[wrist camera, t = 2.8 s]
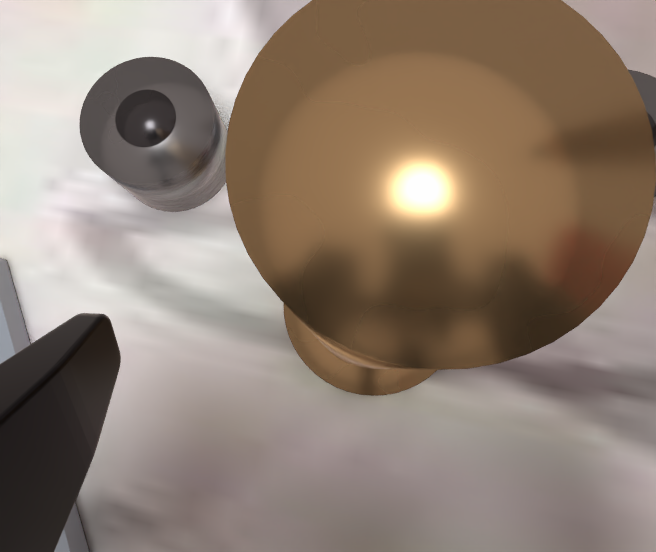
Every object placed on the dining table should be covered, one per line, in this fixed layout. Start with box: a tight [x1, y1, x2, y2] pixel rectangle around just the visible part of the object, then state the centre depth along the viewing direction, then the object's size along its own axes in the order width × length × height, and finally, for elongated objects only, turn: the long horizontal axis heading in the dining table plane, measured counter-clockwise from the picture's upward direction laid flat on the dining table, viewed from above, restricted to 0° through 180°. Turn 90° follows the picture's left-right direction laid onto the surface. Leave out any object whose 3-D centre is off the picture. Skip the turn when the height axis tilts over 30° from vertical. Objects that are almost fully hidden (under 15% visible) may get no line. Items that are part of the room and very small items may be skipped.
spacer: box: [80, 57, 228, 212], centre depth 18 cm, size 4×4×3 cm
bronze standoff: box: [225, 0, 656, 396], centre depth 11 cm, size 6×6×13 cm
